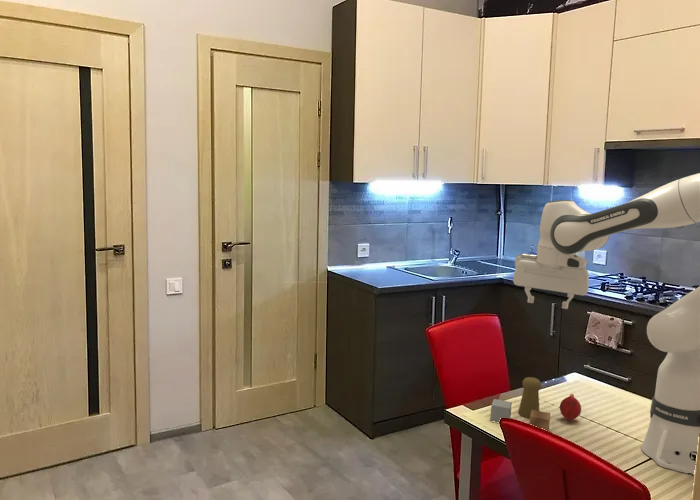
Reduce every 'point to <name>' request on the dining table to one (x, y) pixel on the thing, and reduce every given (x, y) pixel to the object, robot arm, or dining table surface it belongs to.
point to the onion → (570, 408)
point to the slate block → (500, 410)
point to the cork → (529, 397)
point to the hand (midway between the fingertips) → (547, 305)
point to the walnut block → (540, 419)
